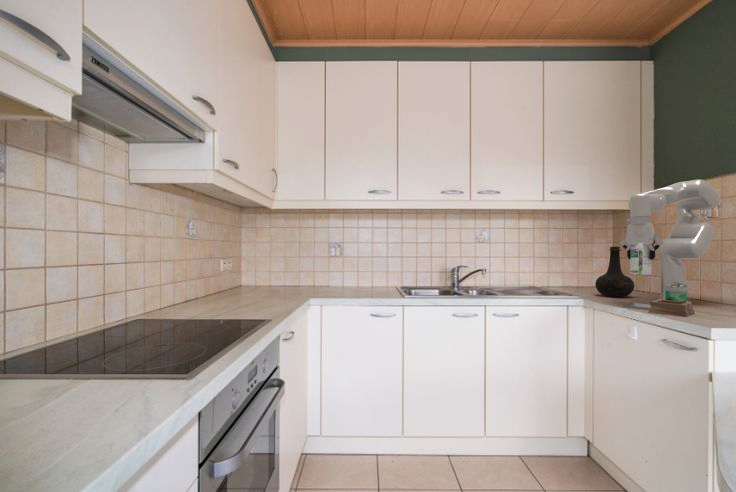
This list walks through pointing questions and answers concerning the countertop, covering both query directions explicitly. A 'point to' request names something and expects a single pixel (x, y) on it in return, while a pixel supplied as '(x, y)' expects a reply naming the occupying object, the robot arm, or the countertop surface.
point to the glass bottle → (614, 278)
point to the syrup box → (640, 259)
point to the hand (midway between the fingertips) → (640, 259)
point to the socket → (671, 308)
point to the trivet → (637, 305)
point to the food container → (677, 292)
